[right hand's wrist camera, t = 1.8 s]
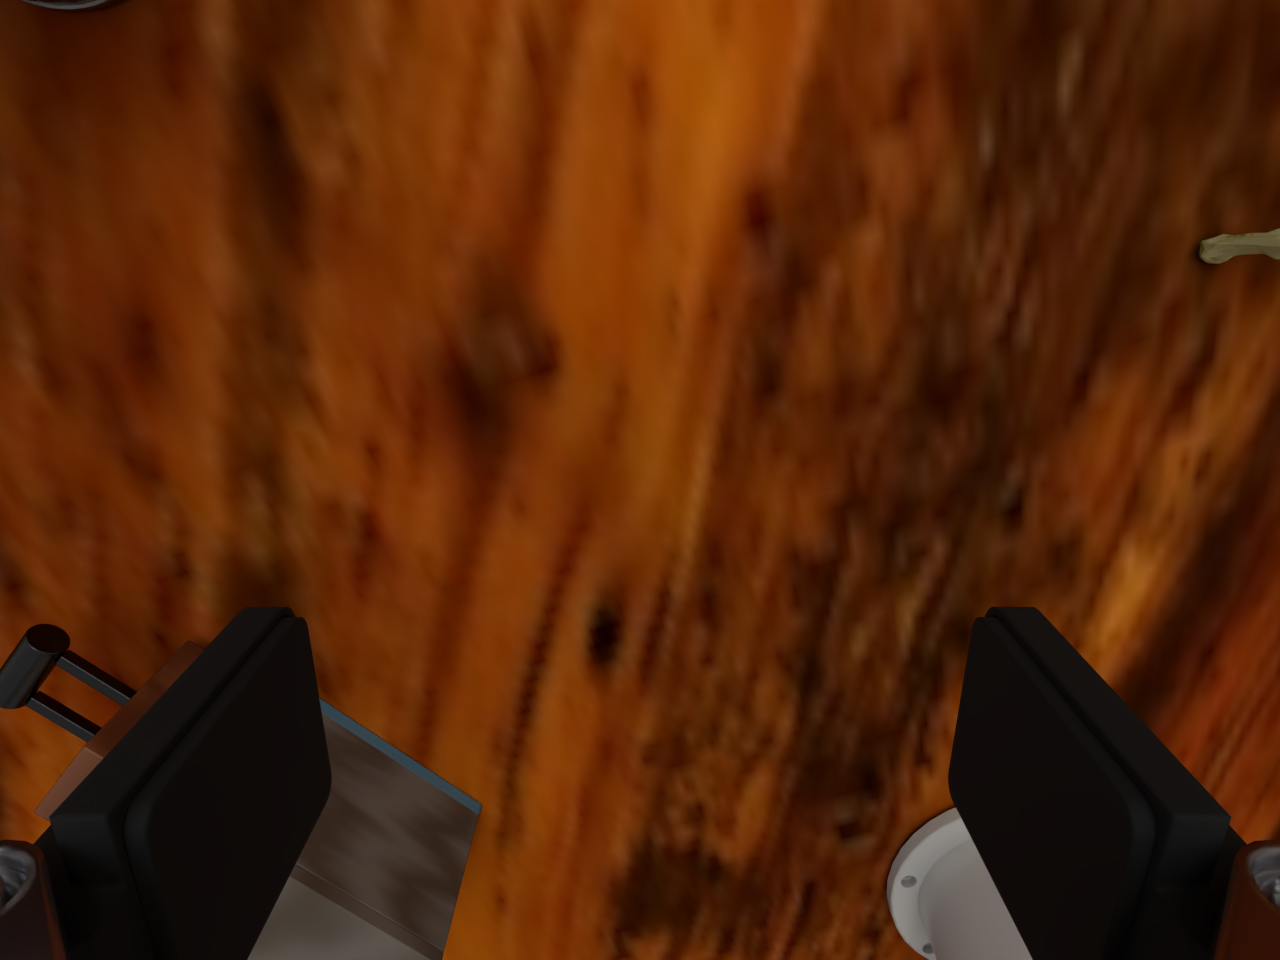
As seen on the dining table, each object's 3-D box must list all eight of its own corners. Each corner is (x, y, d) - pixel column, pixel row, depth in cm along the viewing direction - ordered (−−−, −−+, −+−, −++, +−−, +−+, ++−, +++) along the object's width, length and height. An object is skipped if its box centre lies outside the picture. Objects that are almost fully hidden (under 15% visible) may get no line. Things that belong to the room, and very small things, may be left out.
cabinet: (189, 719, 44) (65, 866, 34) (245, 649, 42) (132, 784, 33) (422, 863, 47) (368, 1034, 38) (482, 804, 46) (441, 966, 36)
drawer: (51, 638, 41) (-87, 745, 33) (94, 577, 40) (-39, 674, 32) (373, 837, 45) (318, 974, 38) (420, 788, 44) (374, 918, 36)
